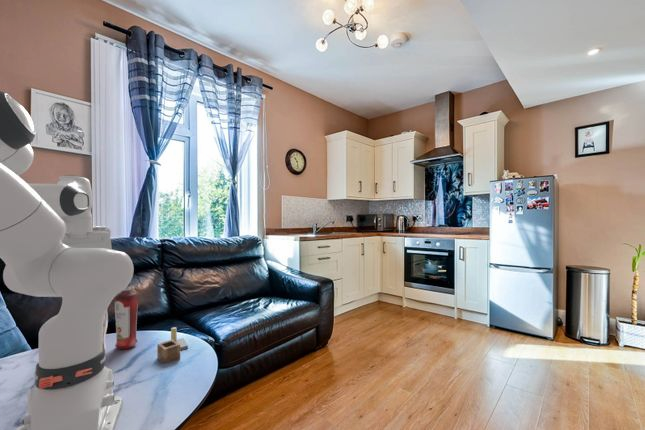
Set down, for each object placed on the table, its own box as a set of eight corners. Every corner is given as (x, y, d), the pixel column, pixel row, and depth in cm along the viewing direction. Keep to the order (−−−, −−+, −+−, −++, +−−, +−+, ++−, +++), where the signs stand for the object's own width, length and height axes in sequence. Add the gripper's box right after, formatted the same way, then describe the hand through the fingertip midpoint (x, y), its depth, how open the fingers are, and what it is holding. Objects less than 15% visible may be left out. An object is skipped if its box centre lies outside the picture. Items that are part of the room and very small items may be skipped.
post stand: (187, 348, 105) (188, 329, 105) (163, 354, 101) (163, 334, 101) (183, 340, 112) (183, 322, 112) (159, 346, 107) (159, 327, 107)
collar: (180, 359, 97) (180, 344, 97) (164, 364, 94) (164, 349, 94) (172, 353, 101) (172, 339, 101) (157, 358, 98) (157, 344, 98)
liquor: (109, 350, 104) (109, 272, 104) (126, 341, 111) (126, 269, 111) (126, 352, 102) (126, 273, 102) (143, 343, 109) (142, 269, 109)
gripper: (104, 225, 103) (104, 264, 103) (27, 228, 84) (27, 275, 84) (115, 226, 100) (115, 265, 100) (38, 228, 81) (38, 277, 81)
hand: (74, 270), depth 92 cm, fingers open, 8 cm apart
